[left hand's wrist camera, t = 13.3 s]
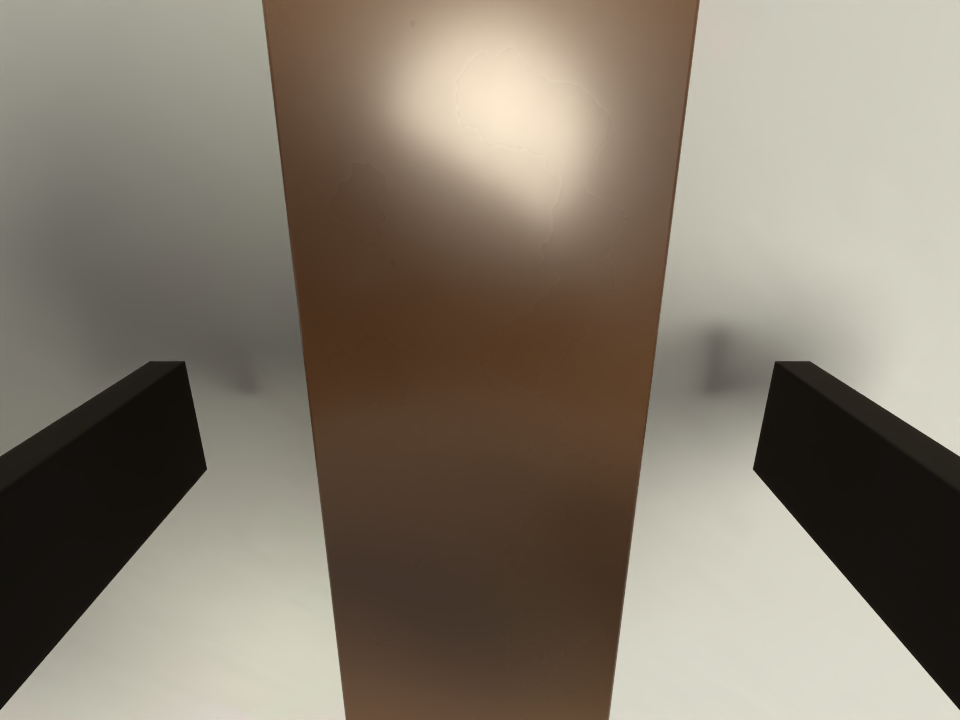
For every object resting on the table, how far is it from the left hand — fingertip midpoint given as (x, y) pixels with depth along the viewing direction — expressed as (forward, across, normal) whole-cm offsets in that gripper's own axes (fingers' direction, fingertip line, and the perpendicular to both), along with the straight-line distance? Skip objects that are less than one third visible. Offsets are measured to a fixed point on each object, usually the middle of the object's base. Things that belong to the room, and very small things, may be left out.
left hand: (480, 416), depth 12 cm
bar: (+4, 0, -19) cm, 19 cm away
